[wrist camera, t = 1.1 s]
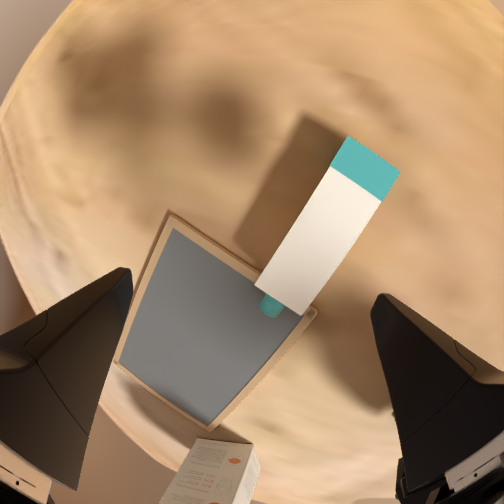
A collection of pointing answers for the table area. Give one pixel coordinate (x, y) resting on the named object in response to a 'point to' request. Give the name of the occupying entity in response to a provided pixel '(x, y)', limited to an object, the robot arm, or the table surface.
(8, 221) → the table surface
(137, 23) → the table surface
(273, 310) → the marker
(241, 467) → the small box
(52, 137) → the table surface
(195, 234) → the slate board
